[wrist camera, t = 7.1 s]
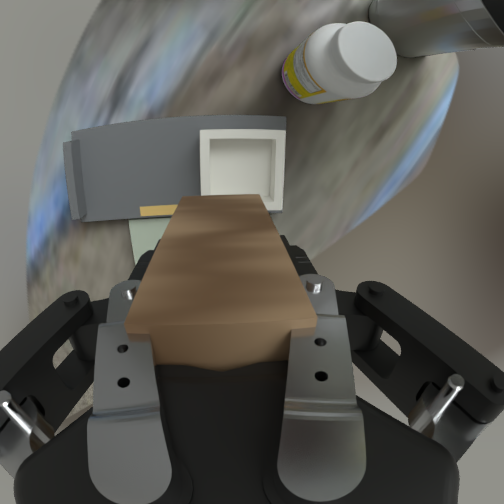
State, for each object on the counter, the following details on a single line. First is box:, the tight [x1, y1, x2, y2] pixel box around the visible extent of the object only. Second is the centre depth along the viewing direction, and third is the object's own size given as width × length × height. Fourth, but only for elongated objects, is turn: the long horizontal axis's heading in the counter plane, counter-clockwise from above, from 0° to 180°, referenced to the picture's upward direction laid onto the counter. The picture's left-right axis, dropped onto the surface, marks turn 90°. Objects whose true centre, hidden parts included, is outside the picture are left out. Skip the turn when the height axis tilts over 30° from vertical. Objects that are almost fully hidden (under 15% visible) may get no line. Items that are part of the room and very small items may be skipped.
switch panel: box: [63, 115, 286, 222], centre depth 26 cm, size 22×10×4 cm, turn 89°
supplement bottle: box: [282, 21, 397, 104], centre depth 19 cm, size 7×7×13 cm
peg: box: [124, 194, 318, 371], centre depth 11 cm, size 4×4×10 cm
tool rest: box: [129, 216, 172, 265], centre depth 31 cm, size 9×9×1 cm
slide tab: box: [200, 129, 286, 210], centre depth 25 cm, size 7×7×4 cm
